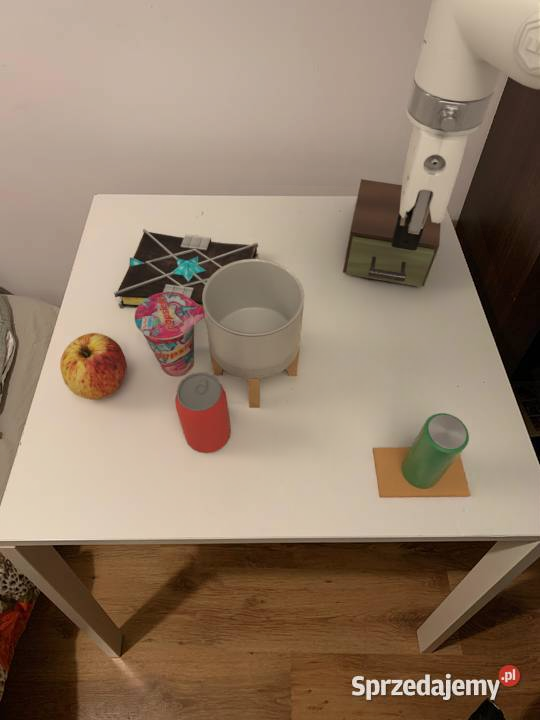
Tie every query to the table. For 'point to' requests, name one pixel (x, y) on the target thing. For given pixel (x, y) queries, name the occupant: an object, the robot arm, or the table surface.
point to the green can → (434, 450)
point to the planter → (253, 321)
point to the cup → (170, 329)
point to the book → (176, 266)
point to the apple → (93, 366)
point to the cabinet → (385, 217)
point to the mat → (397, 485)
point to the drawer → (388, 261)
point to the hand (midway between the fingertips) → (404, 244)
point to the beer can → (203, 412)
